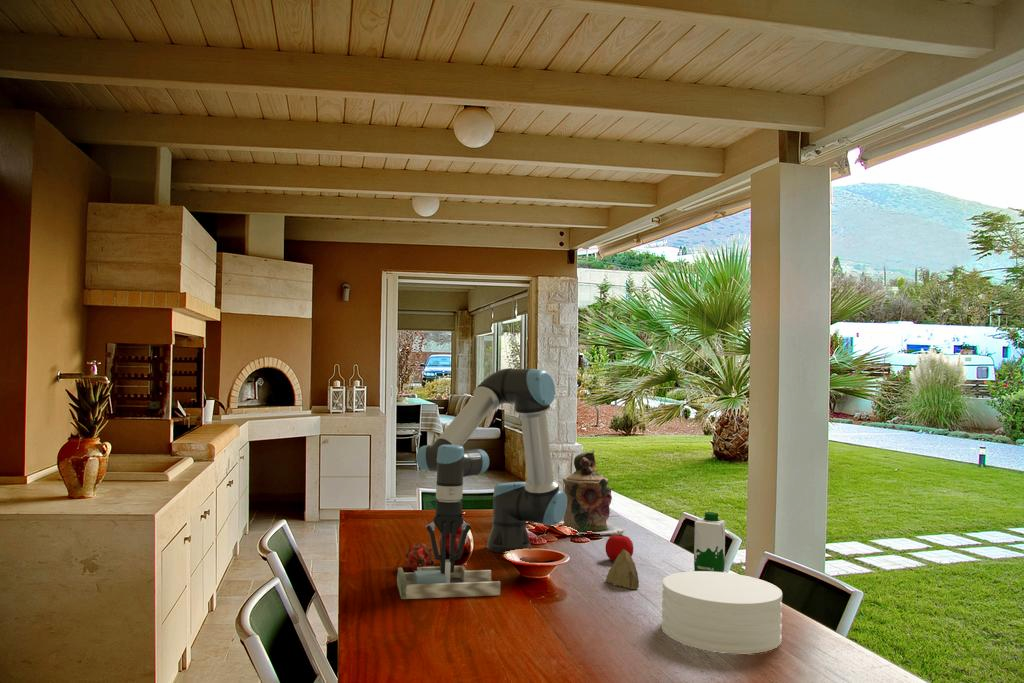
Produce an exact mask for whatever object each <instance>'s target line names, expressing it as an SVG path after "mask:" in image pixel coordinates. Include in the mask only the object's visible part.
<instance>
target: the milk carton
mask: <svg viewBox="0 0 1024 683" xmlns="http://www.w3.org/2000/svg"><path fill="white" fill-rule="evenodd" d="M693 531H694V542H693V545H694V546H693V547H694V548H693V567H694V568H693V569H694V570H693V571H713V572H725V564H726V563H725V562H726V558H725V556H726V546H725V545H726V520H724V519H723V520H722V519H719V513H718V512H712V511H706V512H704V517H700V518H698V519H696V520H695V521H694V530H693Z"/></svg>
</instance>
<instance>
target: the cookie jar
mask: <svg viewBox="0 0 1024 683" xmlns="http://www.w3.org/2000/svg"><path fill="white" fill-rule="evenodd" d="M596 465H597V463H596V458H595V449H592V450H591V451H589V452H588V451H587V452H583V453H578V454H577V455H576V456H575V457H574V459H573V466H574V469H575V471H574V472H573V473H571V474H569V475H565V476H563V478H562V483H563V484H564V489H563V492H565V494H566V495H567V508H566V512H565V515H564V517H563V520H561V521H560V522H559V523H562V524H563V526H567V527H571V528H573V529H575V530H577V531H578V532H579V533H578V534H584V535H585V534H587V533H585V532H587V531H592V532H594V533H596V534H600V535H599V536H608V535H609V536H613V535H617V536H619V535H620V536H622V535H623V534H624V533H625V532H626V531H627V530H626V529H625V528H619V527H616V526H614V525H612V523H611V522H608V521H607V520H608V519H609V517H610V513H611V510H610V505H611V504H612V500H613V496H612V487H611V486H609V487H607V486H608V484H609V482H610V481H609V479H608V478H607V477H604V476H603V475H602V474H601V473H600V472H599V470H598V468H597V466H596ZM618 531H619V534H618Z"/></svg>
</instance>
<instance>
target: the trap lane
mask: <svg viewBox="0 0 1024 683" xmlns="http://www.w3.org/2000/svg"><path fill="white" fill-rule="evenodd" d="M429 570H440V565H438V566H429V567H417V571H429ZM414 574H415V572H414V571H412V572H404V569H403V567H397V575H396V576H397V579H396V580H397V581H396V582H397V584H396V586H397V589H398V592H399V596H400V598H401V600H409V599H410V600H412V599H415V600H417V599H418V600H419V599H435V598H436V599H438V598H440V599H442V598H459V597H460V598H462V597H464V598H465V597H466V598H467V597H484V596H485V597H486V596H487V597H488V596H491V597H492V596H500V595H501V581H500V580H497V581H496V580H495V581H493V580H492V570H491V569H480V570H473V569H472V570H467V568H466V567H465V566H464V565H454V572H453V573H450V583H436V584H414ZM461 579H462V580H461Z"/></svg>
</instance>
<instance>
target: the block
mask: <svg viewBox="0 0 1024 683" xmlns="http://www.w3.org/2000/svg"><path fill="white" fill-rule="evenodd" d="M436 583H446V575H445V573H441V572H440V570H429V571H415V574H414V584H436Z"/></svg>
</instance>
